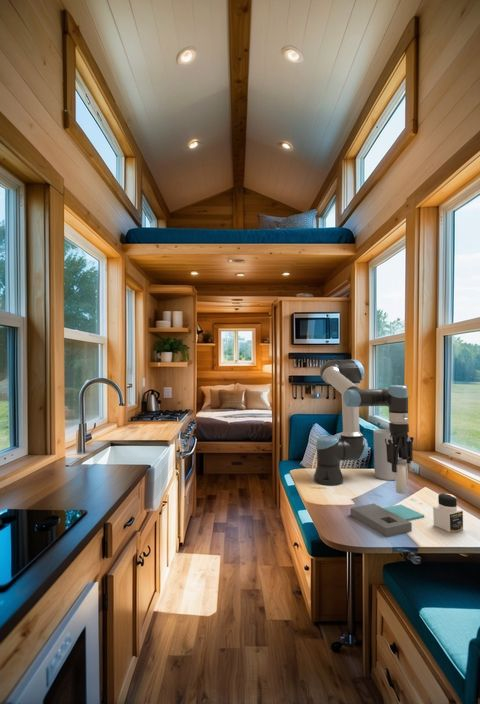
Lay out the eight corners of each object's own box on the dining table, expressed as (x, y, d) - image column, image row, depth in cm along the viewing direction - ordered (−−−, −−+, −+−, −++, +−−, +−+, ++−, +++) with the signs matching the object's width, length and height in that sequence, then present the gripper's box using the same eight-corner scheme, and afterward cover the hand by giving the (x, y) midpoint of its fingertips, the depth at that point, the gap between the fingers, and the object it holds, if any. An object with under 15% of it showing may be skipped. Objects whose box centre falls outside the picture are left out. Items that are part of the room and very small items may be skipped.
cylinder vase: (403, 480, 190) (402, 433, 191) (379, 480, 190) (378, 433, 191) (393, 473, 202) (392, 429, 203) (371, 473, 202) (370, 429, 203)
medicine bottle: (450, 533, 131) (449, 500, 131) (433, 525, 137) (432, 493, 138) (463, 529, 134) (462, 496, 134) (446, 521, 140) (445, 490, 141)
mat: (379, 510, 152) (379, 508, 152) (401, 506, 156) (401, 504, 156) (401, 522, 140) (401, 520, 140) (424, 517, 145) (424, 515, 145)
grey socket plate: (350, 515, 147) (350, 507, 148) (373, 510, 152) (373, 503, 152) (386, 536, 129) (386, 528, 129) (411, 530, 133) (411, 522, 133)
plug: (391, 491, 150) (390, 458, 150) (401, 489, 151) (400, 457, 152) (401, 495, 145) (400, 461, 145) (410, 493, 147) (409, 460, 147)
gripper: (389, 425, 143) (391, 484, 142) (421, 422, 149) (423, 479, 148) (376, 422, 150) (377, 479, 149) (407, 420, 156) (408, 474, 155)
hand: (400, 479), depth 148 cm, fingers closed on plug, 4 cm apart
